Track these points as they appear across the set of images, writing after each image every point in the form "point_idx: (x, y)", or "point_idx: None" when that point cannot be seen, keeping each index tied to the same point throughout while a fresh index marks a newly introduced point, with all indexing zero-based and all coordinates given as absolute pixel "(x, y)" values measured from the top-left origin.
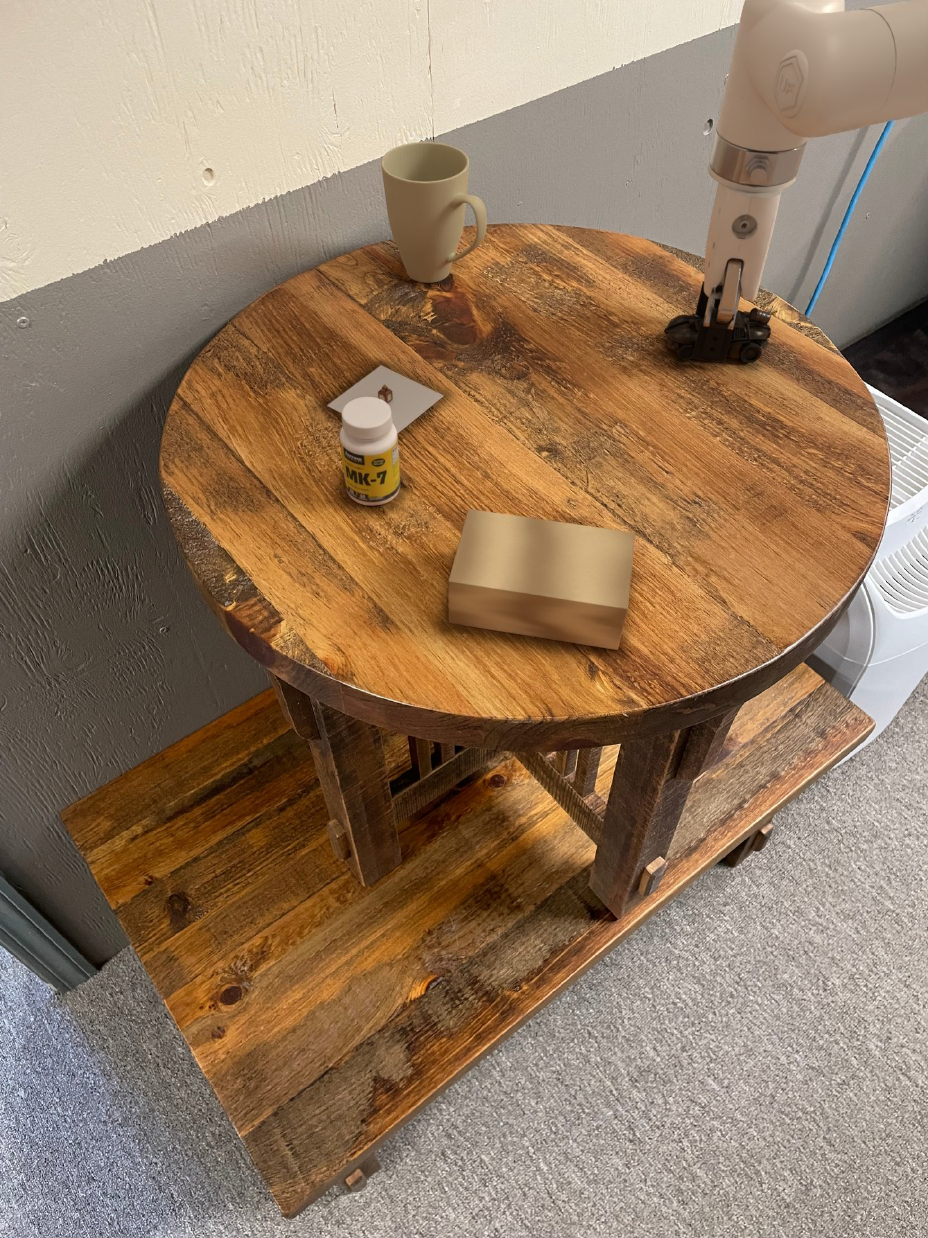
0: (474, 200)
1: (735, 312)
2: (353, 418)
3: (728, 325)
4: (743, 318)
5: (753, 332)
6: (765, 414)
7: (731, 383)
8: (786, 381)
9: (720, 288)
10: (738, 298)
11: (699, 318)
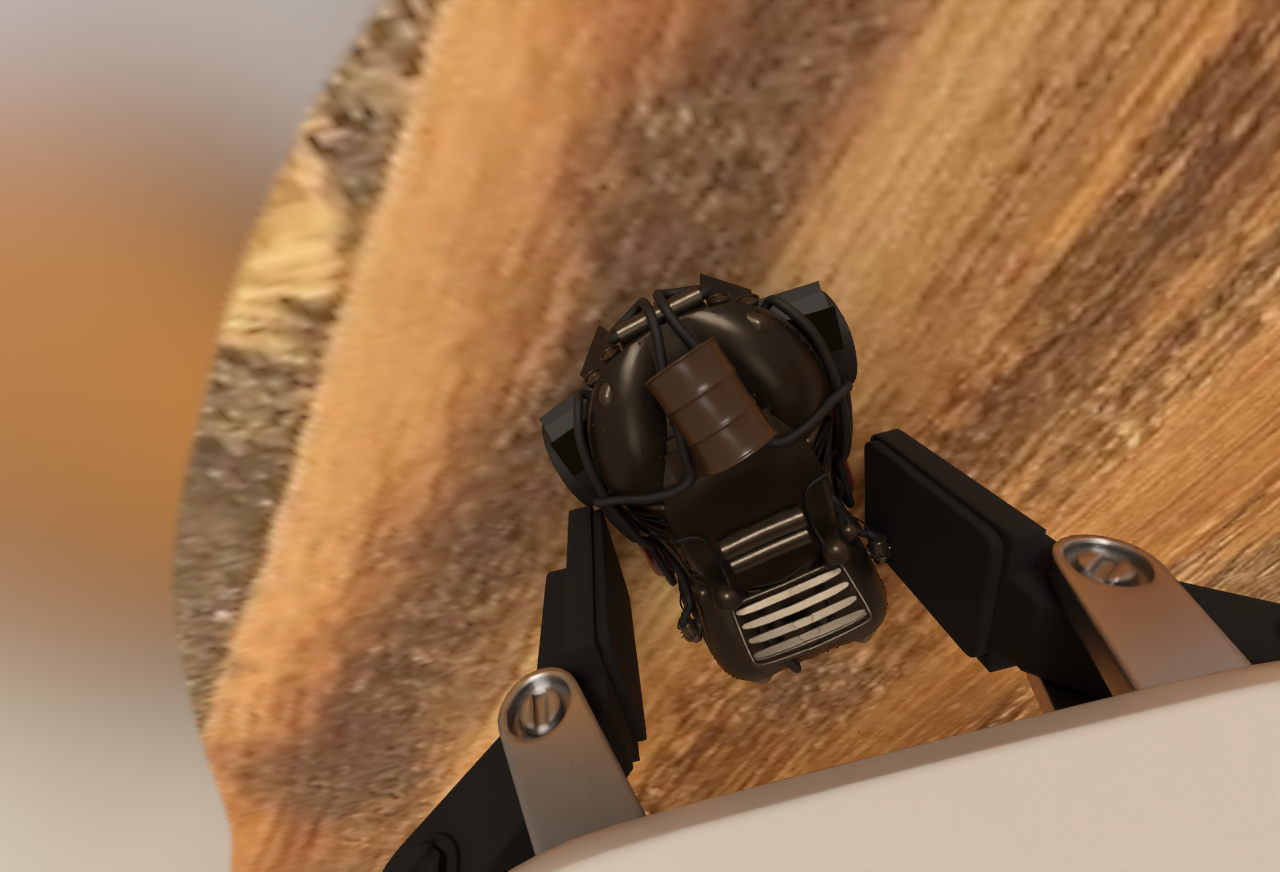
0: None
1: (1212, 631)
2: None
3: (1243, 598)
4: (721, 474)
5: (818, 389)
6: (1147, 161)
7: (945, 354)
8: (892, 105)
9: (627, 685)
10: None
11: (723, 614)
